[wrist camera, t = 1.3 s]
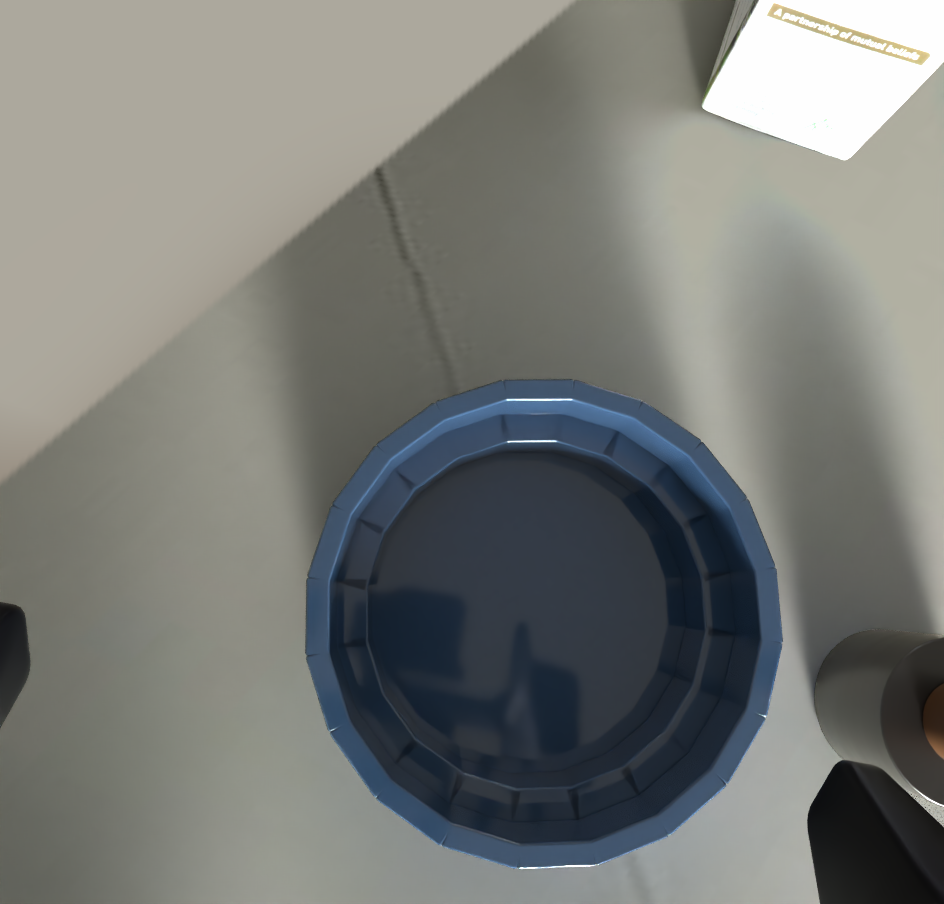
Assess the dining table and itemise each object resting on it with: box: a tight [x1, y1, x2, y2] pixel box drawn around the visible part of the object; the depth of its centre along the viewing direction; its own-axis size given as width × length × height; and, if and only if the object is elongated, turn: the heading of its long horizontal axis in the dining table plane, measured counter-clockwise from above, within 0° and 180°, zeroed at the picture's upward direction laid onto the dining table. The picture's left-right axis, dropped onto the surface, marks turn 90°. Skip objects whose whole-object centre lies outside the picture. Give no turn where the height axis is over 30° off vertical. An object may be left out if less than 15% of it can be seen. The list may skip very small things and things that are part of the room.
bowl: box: [305, 379, 783, 869], centre depth 21 cm, size 12×12×4 cm
